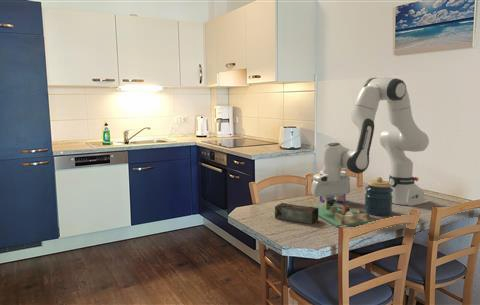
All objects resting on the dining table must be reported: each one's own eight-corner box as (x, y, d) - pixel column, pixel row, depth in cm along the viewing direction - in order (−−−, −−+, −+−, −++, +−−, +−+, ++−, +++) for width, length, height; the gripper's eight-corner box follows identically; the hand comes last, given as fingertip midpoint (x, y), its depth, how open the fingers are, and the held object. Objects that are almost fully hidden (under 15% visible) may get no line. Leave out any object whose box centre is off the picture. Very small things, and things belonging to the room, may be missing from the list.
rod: (324, 207, 200) (325, 197, 199) (330, 206, 201) (330, 197, 200) (343, 217, 184) (344, 206, 183) (349, 216, 185) (349, 206, 184)
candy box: (344, 199, 221) (345, 170, 218) (345, 202, 215) (346, 172, 212) (319, 198, 223) (320, 169, 221) (319, 201, 217) (320, 171, 215)
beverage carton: (281, 214, 195) (281, 200, 194) (319, 220, 185) (319, 206, 184) (274, 218, 188) (274, 204, 187) (313, 225, 178) (313, 211, 177)
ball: (352, 209, 183) (355, 216, 181) (349, 214, 186) (352, 220, 183) (345, 210, 182) (348, 216, 180) (342, 214, 185) (345, 221, 182)
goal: (361, 217, 186) (361, 210, 185) (369, 221, 180) (369, 213, 180) (334, 220, 181) (335, 212, 181) (342, 224, 176) (342, 216, 175)
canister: (366, 215, 192) (368, 179, 190) (362, 207, 205) (363, 174, 202) (394, 216, 190) (396, 180, 188) (388, 209, 203) (390, 175, 201)
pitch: (338, 205, 209) (339, 200, 208) (375, 223, 181) (375, 216, 180) (304, 208, 203) (304, 203, 202) (336, 227, 174) (336, 220, 174)
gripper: (346, 173, 202) (345, 200, 204) (309, 176, 196) (309, 203, 197) (353, 176, 196) (352, 203, 198) (316, 178, 190) (315, 206, 192)
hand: (330, 203), depth 198 cm, fingers closed on rod, 3 cm apart
